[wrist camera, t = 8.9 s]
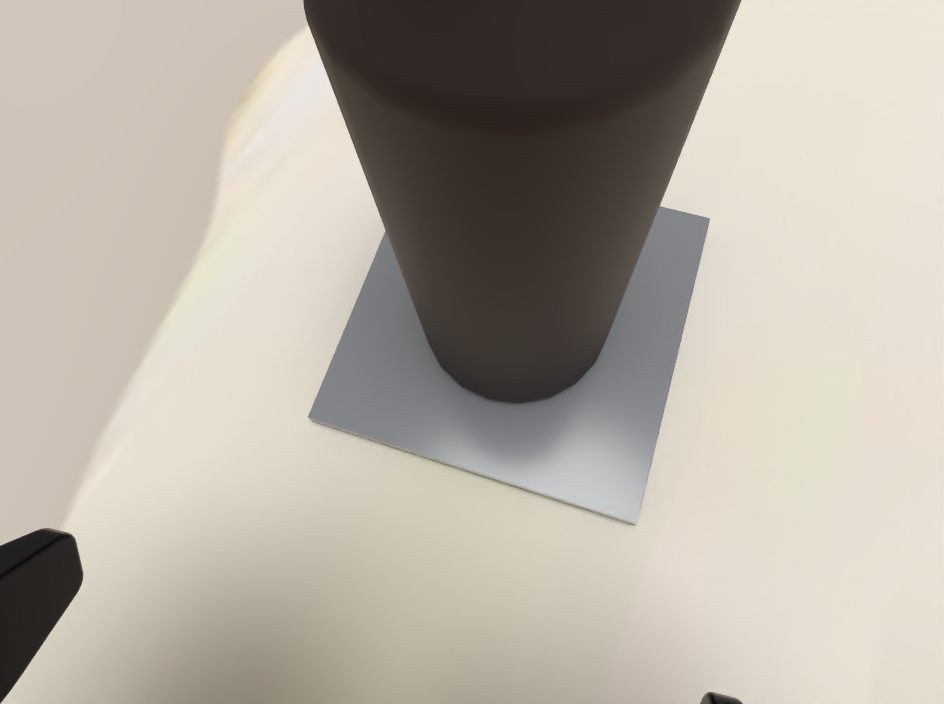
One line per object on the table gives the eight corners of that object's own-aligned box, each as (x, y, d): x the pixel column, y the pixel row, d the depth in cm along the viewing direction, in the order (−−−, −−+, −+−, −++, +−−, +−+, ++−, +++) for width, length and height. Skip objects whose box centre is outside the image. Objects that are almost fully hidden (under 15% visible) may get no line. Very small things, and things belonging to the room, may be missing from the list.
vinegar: (637, 371, 23) (1267, -656, 4) (457, 431, 22) (139, -352, 3) (568, 215, 25) (741, -915, 6) (404, 269, 24) (34, -747, 6)
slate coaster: (633, 524, 21) (636, 523, 21) (312, 421, 23) (307, 417, 23) (705, 226, 25) (710, 218, 24) (421, 157, 27) (419, 148, 26)
